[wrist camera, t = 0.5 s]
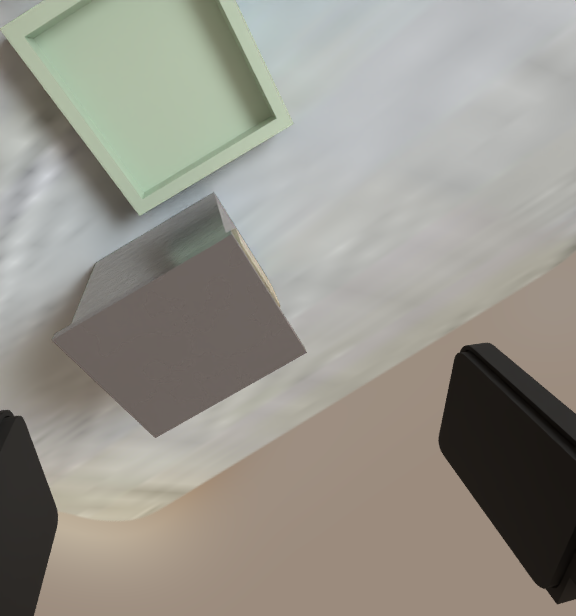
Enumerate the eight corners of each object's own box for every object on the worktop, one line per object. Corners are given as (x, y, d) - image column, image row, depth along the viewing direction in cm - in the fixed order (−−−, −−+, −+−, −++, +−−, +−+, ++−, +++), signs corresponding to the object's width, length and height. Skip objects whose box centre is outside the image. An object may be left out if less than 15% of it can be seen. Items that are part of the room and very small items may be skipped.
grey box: (215, 184, 31) (231, 234, 22) (273, 279, 36) (306, 352, 27) (87, 261, 32) (51, 340, 23) (160, 344, 36) (155, 437, 27)
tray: (189, -82, 24) (190, -95, 22) (285, 119, 30) (293, 123, 28) (13, 31, 25) (-1, 28, 23) (142, 206, 31) (139, 216, 29)
